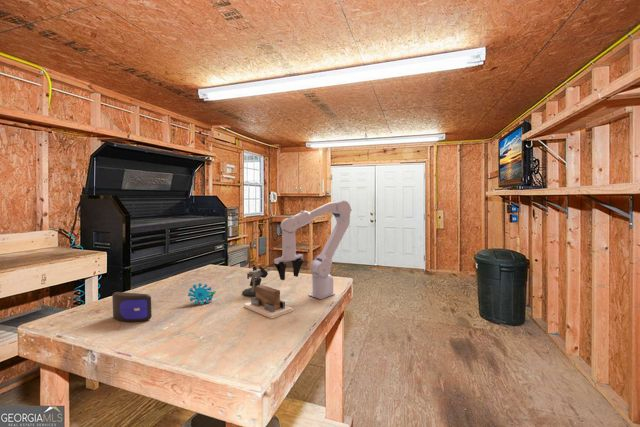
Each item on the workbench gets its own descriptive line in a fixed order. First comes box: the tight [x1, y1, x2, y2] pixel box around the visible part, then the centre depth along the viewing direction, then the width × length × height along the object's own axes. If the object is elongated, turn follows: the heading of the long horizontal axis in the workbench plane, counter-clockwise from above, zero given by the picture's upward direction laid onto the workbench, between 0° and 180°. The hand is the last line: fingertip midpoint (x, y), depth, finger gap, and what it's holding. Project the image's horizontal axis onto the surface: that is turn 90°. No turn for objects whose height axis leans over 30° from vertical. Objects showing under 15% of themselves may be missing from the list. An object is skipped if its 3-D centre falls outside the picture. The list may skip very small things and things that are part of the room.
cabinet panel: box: [243, 301, 294, 319], centre depth 114 cm, size 10×18×1 cm, turn 47°
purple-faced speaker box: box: [111, 291, 153, 323], centre depth 105 cm, size 16×5×9 cm, turn 77°
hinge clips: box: [250, 297, 286, 312], centre depth 114 cm, size 6×14×2 cm, turn 47°
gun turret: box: [241, 265, 276, 298], centre depth 138 cm, size 13×20×13 cm, turn 154°
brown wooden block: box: [255, 284, 281, 310], centre depth 115 cm, size 4×12×7 cm, turn 47°
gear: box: [187, 282, 217, 306], centre depth 124 cm, size 11×6×10 cm
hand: (289, 278), depth 125 cm, fingers open, 7 cm apart
